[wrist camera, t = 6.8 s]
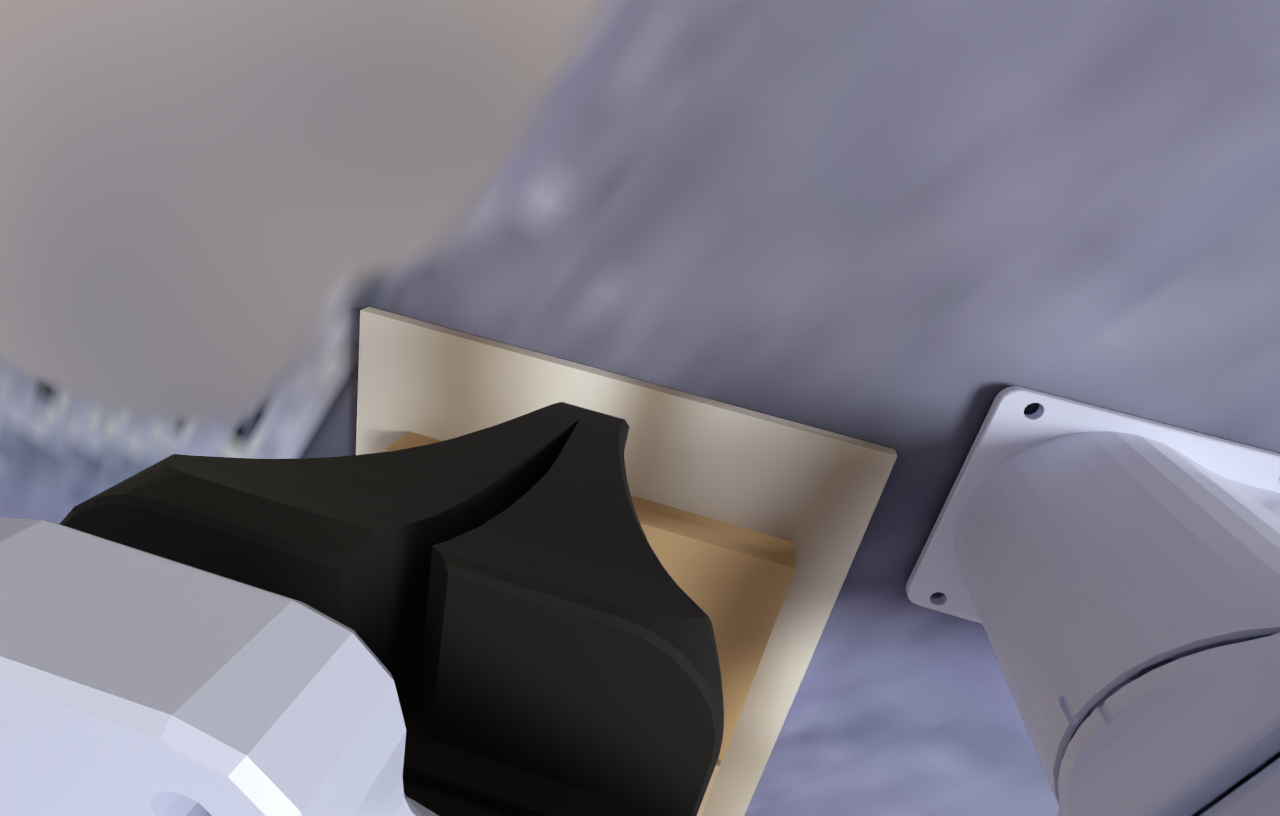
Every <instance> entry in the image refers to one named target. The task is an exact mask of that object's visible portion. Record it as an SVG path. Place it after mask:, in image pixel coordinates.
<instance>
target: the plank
mask: <svg viewBox="0 0 1280 816" xmlns="http://www.w3.org/2000/svg"><path fill="white" fill-rule="evenodd" d="M437 442H441V440H437V439H434V438H431V437H427V436H424V435H420V434H417V433H413V432H410V431H408V432H407V433H406V434H404V435H403V436H402V437H401V438H399V439H398V440H397V441H395V442H394V443H393V444H392V445H390V446H389V447H388V448H386V452H389V451H396V450H402V449H407V448H412V447H418V446H423V445H428V444H432V443H437ZM631 499H632V502H633V505H634V509H635V512H636V514H637V517H638V520H639V522H640V525H641V527H642V529H643V531H644V534H645V536H646V538H647V540H648V542H649V544H650V546H651V548H652V549H653V551H654V553H655V554H656V556H657V557H658V559H659V561H660V562H661V564H662V566H663V567H664V568H665V570H666V571H667V572H668V574H669V575H670V576H671V577H672V579H673V580H674V581H675V583H676V584H677V585H678V586H679V587H680V588H681V589H682V590H683V591H684V592H685V593H686V594H687V595H688V596H689V597H690V598H691V599H692V600H693V601H694V602H695V603H696V604H697V605H698V606H699V607H700V608H701V609H702V610H703V611H704V612H705V613H706V614H707V615H708V616H709V618H710V620H711V622H712V626H713V631H714V636H715V641H716V646H717V652H718V658H719V664H720V671H721V679H722V690H723V705H724V730H723V739H722V745H721V749H720V754H719V758H718V760H722V761H723V758H724V755H725V753H726V750H727V747H728V745H729V742H730V740H731V737H732V734H733V732H734V729H735V726H736V724H737V721H738V719H739V716H740V713H741V711H742V708H743V705H744V703H745V700H746V698H747V695H748V692H749V690H750V687H751V685H752V682H753V679H754V677H755V674H756V671H757V669H758V666H759V664H760V661H761V658H762V656H763V653H764V650H765V648H766V645H767V643H768V640H769V637H770V635H771V632H772V630H773V627H774V624H775V622H776V619H777V616H778V614H779V611H780V609H781V606H782V603H783V601H784V598H785V595H786V593H787V590H788V588H789V585H790V582H791V580H792V577H793V574H794V572H795V569H796V564H795V543H794V542H791V541H788V540H784V539H781V538H777V537H774V536H770V535H767V534H763V533H760V532H756V531H753V530H750V529H746V528H743V527H739V526H736V525H732V524H729V523H725V522H722V521H718V520H715V519H711V518H708V517H704V516H701V515H697V514H694V513H691V512H687V511H684V510H680V509H677V508H673V507H670V506H666V505H663V504H659V503H656V502H652V501H649V500H645V499H642V498H639V497H635V496H632V495H631Z"/></svg>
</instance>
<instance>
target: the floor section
mask: <svg viewBox="0 0 1280 816" xmlns="http://www.w3.org/2000/svg"><path fill="white" fill-rule="evenodd" d="M559 402H564V403H567V404H571V405H575V406H578V407H582V408H585V409H589V410H593V411H596V412H600V413H603V414H607V415H611V416H614V417H618V418H621V419H625V420H626V422H627V423H628V425H629V427H630V428H629V432H628V437H627V441H626V445H625V450H624V460H625V469H626V476H627V482H628V486H629V491H630V495H632V496H635V497H639V498H642V499H645V500H649V501H652V502H656V503H659V504H663V505H666V506H670V507H673V508H677V509H680V510H684V511H687V512H691V513H694V514H697V515H701V516H704V517H708V518H711V519H715V520H718V521H722V522H725V523H729V524H732V525H736V526H739V527H743V528H746V529H750V530H753V531H756V532H760V533H763V534H767V535H770V536H774V537H777V538H781V539H784V540H788V541H791V542H794V543H795V564H796V569H795V572H794V574H793V577H792V580H791V582H790V585H789V588H788V590H787V593H786V595H785V598H784V601H783V603H782V606H781V609H780V611H779V614H778V616H777V619H776V622H775V624H774V627H773V630H772V632H771V635H770V637H769V640H768V643H767V645H766V648H765V650H764V653H763V656H762V658H761V661H760V664H759V666H758V669H757V671H756V674H755V677H754V679H753V682H752V685H751V687H750V690H749V692H748V695H747V698H746V700H745V703H744V705H743V708H742V711H741V713H740V716H739V719H738V721H737V724H736V726H735V729H734V732H733V734H732V737H731V740H730V742H729V745H728V747H727V750H726V753H725V755H724V758H723V761H722V760H717V763H716V766H715V768H714V771H713V774H712V776H711V779H710V782H709V784H708V787H707V789H706V792H705V795H704V797H703V800H702V803H701V805H700V808H699V811H698V813H697V816H744V815H745V812H746V810H747V808H748V805H749V803H750V801H751V798H752V796H753V794H754V791H755V789H756V787H757V784H758V782H759V780H760V777H761V775H762V773H763V770H764V768H765V765H766V763H767V761H768V758H769V756H770V754H771V751H772V749H773V747H774V744H775V742H776V740H777V737H778V735H779V733H780V730H781V728H782V726H783V723H784V721H785V719H786V716H787V714H788V712H789V709H790V707H791V705H792V702H793V700H794V697H795V695H796V693H797V690H798V688H799V686H800V683H801V681H802V679H803V676H804V674H805V672H806V669H807V667H808V665H809V662H810V660H811V658H812V655H813V653H814V651H815V648H816V646H817V644H818V641H819V639H820V637H821V634H822V632H823V630H824V627H825V625H826V622H827V620H828V618H829V615H830V613H831V611H832V608H833V606H834V604H835V601H836V599H837V597H838V594H839V592H840V590H841V587H842V585H843V583H844V580H845V578H846V576H847V573H848V571H849V569H850V566H851V564H852V562H853V559H854V557H855V554H856V552H857V550H858V547H859V545H860V543H861V540H862V538H863V536H864V533H865V531H866V529H867V526H868V524H869V522H870V519H871V517H872V515H873V512H874V510H875V508H876V505H877V503H878V501H879V498H880V496H881V494H882V491H883V489H884V487H885V484H886V482H887V479H888V477H889V475H890V472H891V470H892V468H893V465H894V463H895V461H896V458H897V454H896V451H895V449H892V448H888V447H885V446H881V445H877V444H874V443H870V442H866V441H863V440H859V439H855V438H852V437H848V436H844V435H841V434H837V433H833V432H829V431H826V430H822V429H818V428H815V427H811V426H807V425H804V424H800V423H796V422H793V421H789V420H785V419H781V418H778V417H774V416H770V415H767V414H763V413H759V412H756V411H752V410H748V409H745V408H741V407H737V406H733V405H730V404H726V403H722V402H719V401H715V400H711V399H708V398H704V397H700V396H697V395H693V394H689V393H686V392H682V391H678V390H674V389H671V388H667V387H663V386H660V385H656V384H652V383H649V382H645V381H641V380H638V379H634V378H630V377H626V376H623V375H619V374H615V373H612V372H608V371H604V370H601V369H597V368H593V367H590V366H586V365H582V364H578V363H575V362H571V361H567V360H564V359H560V358H556V357H553V356H549V355H545V354H542V353H538V352H534V351H531V350H527V349H523V348H519V347H516V346H512V345H508V344H505V343H501V342H497V341H494V340H490V339H486V338H483V337H479V336H475V335H471V334H468V333H464V332H460V331H457V330H453V329H449V328H446V327H442V326H438V325H435V324H431V323H427V322H424V321H420V320H416V319H412V318H409V317H405V316H401V315H398V314H394V313H390V312H387V311H383V310H379V309H376V308H372V307H367V308H364V309H362V310H360V335H359V367H358V399H357V431H356V455H362V454H371V453H380V452H386V448H388V447H389V446H390V445H392V444H393V443H394V442H395V441H397V440H398V439H399V438H401V437H402V436H403V435H404V434H406V433H407V432H408V431H410V432H413V433H417V434H420V435H424V436H427V437H431V438H434V439H437V440H441V441H445V440H449V439H453V438H456V437H459V436H463V435H466V434H469V433H472V432H476V431H479V430H482V429H485V428H489V427H492V426H495V425H498V424H501V423H503V422H506V421H509V420H511V419H514V418H517V417H520V416H522V415H525V414H528V413H530V412H533V411H535V410H538V409H541V408H543V407H546V406H549V405H552V404H555V403H559Z"/></svg>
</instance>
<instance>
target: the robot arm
mask: <svg viewBox="0 0 1280 816" xmlns="http://www.w3.org/2000/svg"><path fill="white" fill-rule="evenodd" d="M1031 403H1039V409H1038V410H1037V411H1036V412H1035V413H1032V414H1024V409H1025V408H1026V407H1027V405H1029V404H1031ZM629 428H630V427H629V425H628V423H627V422H626V420H625V419H621V418H618V417H614V416H611V415H607V414H603V413H600V412H596V411H593V410H589V409H585V408H582V407H578V406H575V405H571V404H567V403H564V402H559V403H555V404H552V405H549V406H546V407H543V408H541V409H538V410H535V411H533V412H530V413H528V414H525V415H522V416H520V417H517V418H514V419H511V420H509V421H506V422H503V423H501V424H498V425H495V426H492V427H489V428H485V429H482V430H479V431H476V432H472V433H469V434H466V435H463V436H459V437H456V438H453V439H449V440H445V441H441V442H437V443H432V444H428V445H423V446H418V447H412V448H407V449H402V450H396V451H389V452H380V453H371V454H362V455H353V456H344V457H331V458H310V459H245V458H225V457H205V456H188V455H176V454H174V455H171V456H170V457H168V458H166V459H164V460H162V461H160V462H158V463H156V464H154V465H153V466H151V467H149V468H147V469H145V470H143V471H141V472H139V473H137V474H136V475H134V476H132V477H130V478H128V479H126V480H124V481H122V482H121V483H119V484H117V485H115V486H113V487H111V488H109V489H107V490H105V491H104V492H102V493H100V494H98V495H96V496H94V497H92V498H90V499H89V500H87V501H85V502H83V503H81V504H79V505H77V506H75V507H74V508H73V509H72V510H71V512H70V513H69V514H68V515H67V516H66V517H65V519H64V520H63V521H62V522H61V523H60V524H57V523H53V522H48V521H44V520H34V519H20V518H7V517H0V816H697V813H698V811H699V808H700V805H701V803H702V800H703V797H704V795H705V792H706V789H707V787H708V784H709V782H710V779H711V776H712V774H713V771H714V768H715V766H716V763H717V760H718V758H719V754H720V749H721V745H722V739H723V730H724V705H723V690H722V679H721V671H720V664H719V658H718V652H717V646H716V641H715V636H714V631H713V626H712V622H711V620H710V618H709V616H708V615H707V614H706V613H705V612H704V611H703V610H702V609H701V608H700V607H699V606H698V605H697V604H696V603H695V602H694V601H693V600H692V599H691V598H690V597H689V596H688V595H687V594H686V593H685V592H684V591H683V590H682V589H681V588H680V587H679V586H678V585H677V584H676V583H675V581H674V580H673V579H672V577H671V576H670V575H669V574H668V572H667V571H666V570H665V568H664V567H663V566H662V564H661V562H660V561H659V559H658V557H657V556H656V554H655V553H654V551H653V549H652V548H651V546H650V544H649V542H648V540H647V538H646V536H645V534H644V531H643V529H642V527H641V525H640V522H639V520H638V517H637V514H636V512H635V509H634V505H633V502H632V499H631V495H630V491H629V486H628V482H627V476H626V469H625V460H624V450H625V445H626V441H627V437H628V432H629ZM1279 478H1280V454H1279V453H1275V452H1271V451H1267V450H1264V449H1260V448H1256V447H1252V446H1248V445H1244V444H1240V443H1236V442H1232V441H1229V440H1225V439H1221V438H1217V437H1213V436H1209V435H1205V434H1201V433H1198V432H1194V431H1190V430H1186V429H1182V428H1178V427H1174V426H1170V425H1166V424H1163V423H1159V422H1155V421H1151V420H1147V419H1143V418H1139V417H1135V416H1131V415H1128V414H1124V413H1120V412H1116V411H1112V410H1108V409H1104V408H1100V407H1097V406H1093V405H1089V404H1085V403H1081V402H1077V401H1073V400H1069V399H1065V398H1062V397H1058V396H1054V395H1050V394H1046V393H1042V392H1038V391H1034V390H1031V389H1027V388H1023V387H1016V386H1012V387H1008V388H1005V389H1003V390H1002V391H1000V392H999V393H998V395H997V396H996V397H995V399H994V401H993V403H992V405H991V408H990V410H989V412H988V414H987V416H986V418H985V420H984V422H983V424H982V426H981V428H980V431H979V433H978V435H977V437H976V439H975V441H974V443H973V445H972V447H971V449H970V452H969V454H968V456H967V458H966V460H965V462H964V464H963V466H962V468H961V470H960V472H959V475H958V477H957V479H956V481H955V483H954V485H953V487H952V489H951V491H950V493H949V495H948V498H947V500H946V502H945V504H944V506H943V508H942V510H941V512H940V514H939V516H938V519H937V521H936V523H935V525H934V527H933V529H932V531H931V533H930V535H929V537H928V539H927V542H926V544H925V546H924V548H923V550H922V552H921V554H920V556H919V558H918V560H917V562H916V565H915V567H914V569H913V571H912V573H911V575H910V577H909V579H908V581H907V583H906V588H905V589H906V592H907V595H908V599H909V600H910V601H911V602H912V603H914V604H916V605H919V606H922V607H926V608H929V609H933V610H936V611H939V612H943V613H946V614H950V615H953V616H957V617H960V618H963V619H967V620H970V621H974V622H977V623H980V624H983V627H984V629H985V631H986V634H987V636H988V639H989V641H990V643H991V646H992V648H993V650H994V653H995V655H996V657H997V660H998V662H999V665H1000V667H1001V669H1002V672H1003V674H1004V676H1005V679H1006V681H1007V683H1008V686H1009V688H1010V691H1011V693H1012V695H1013V698H1014V700H1015V702H1016V705H1017V707H1018V710H1019V712H1020V714H1021V717H1022V719H1023V721H1024V724H1025V726H1026V728H1027V731H1028V733H1029V736H1030V738H1031V740H1032V743H1033V745H1034V747H1035V750H1036V752H1037V755H1038V757H1039V759H1040V762H1041V764H1042V766H1043V769H1044V771H1045V773H1046V776H1047V778H1048V781H1049V783H1050V785H1051V788H1052V790H1053V792H1054V795H1055V797H1056V800H1057V802H1058V804H1059V813H1058V816H1280V480H1279ZM936 592H941V593H943V595H942V596H941V597H938V598H933V597H931V595H932V594H933V593H936Z"/></svg>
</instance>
